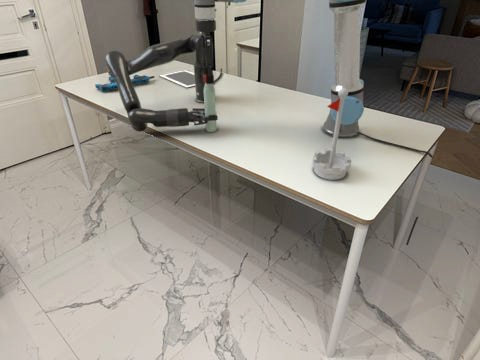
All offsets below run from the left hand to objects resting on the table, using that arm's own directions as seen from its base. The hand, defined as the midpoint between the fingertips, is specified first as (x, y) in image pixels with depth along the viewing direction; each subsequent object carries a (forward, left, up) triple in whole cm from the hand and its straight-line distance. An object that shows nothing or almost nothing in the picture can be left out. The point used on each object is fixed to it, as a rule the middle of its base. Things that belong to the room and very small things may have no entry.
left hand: (216, 115), depth 148 cm
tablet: (-79, -12, -7) cm, 80 cm away
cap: (0, -3, +17) cm, 17 cm away
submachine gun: (-76, -49, -7) cm, 90 cm away
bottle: (0, -3, -7) cm, 7 cm away
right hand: (0, -3, +15) cm, 15 cm away
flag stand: (+42, +36, -7) cm, 56 cm away
